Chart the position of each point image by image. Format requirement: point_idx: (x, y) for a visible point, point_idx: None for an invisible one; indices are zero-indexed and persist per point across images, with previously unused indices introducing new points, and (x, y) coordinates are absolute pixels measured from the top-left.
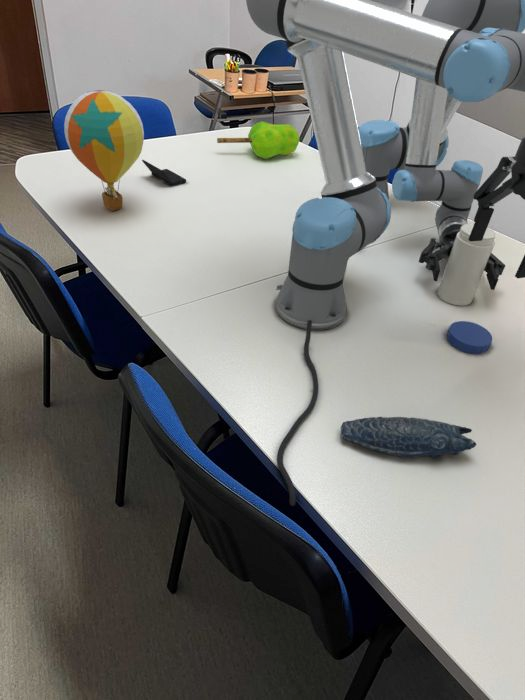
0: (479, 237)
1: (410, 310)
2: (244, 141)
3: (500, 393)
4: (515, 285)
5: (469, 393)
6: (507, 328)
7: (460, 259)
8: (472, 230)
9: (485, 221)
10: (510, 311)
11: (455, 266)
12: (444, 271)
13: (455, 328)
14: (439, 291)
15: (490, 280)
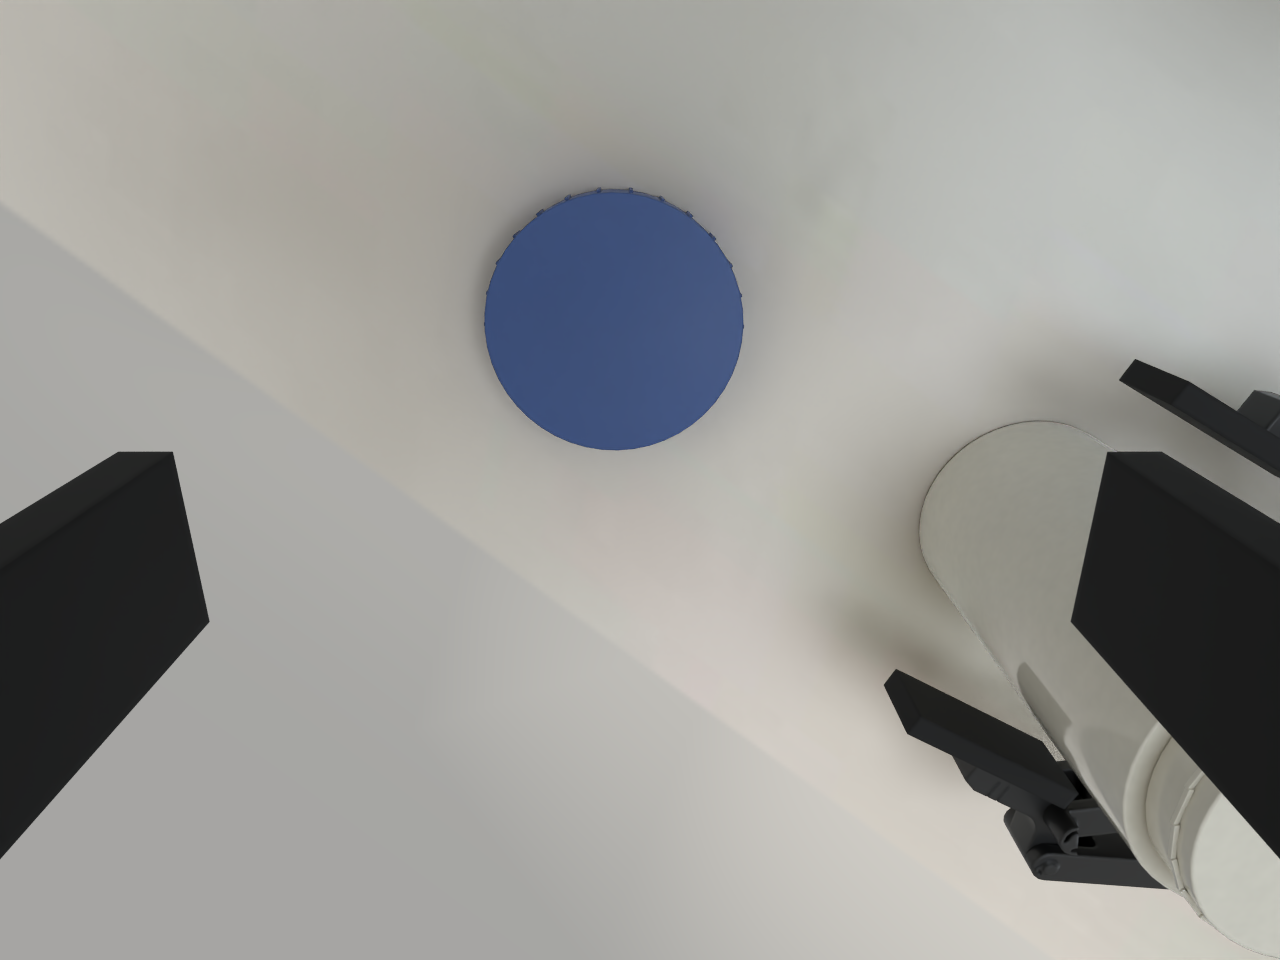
0: (1107, 592)
1: (1000, 136)
2: None
3: (160, 204)
4: (976, 881)
5: (170, 8)
6: (663, 609)
7: None
8: (1246, 511)
9: (1277, 752)
10: (789, 717)
11: None
12: None
13: (680, 258)
14: (1082, 433)
15: (960, 712)
